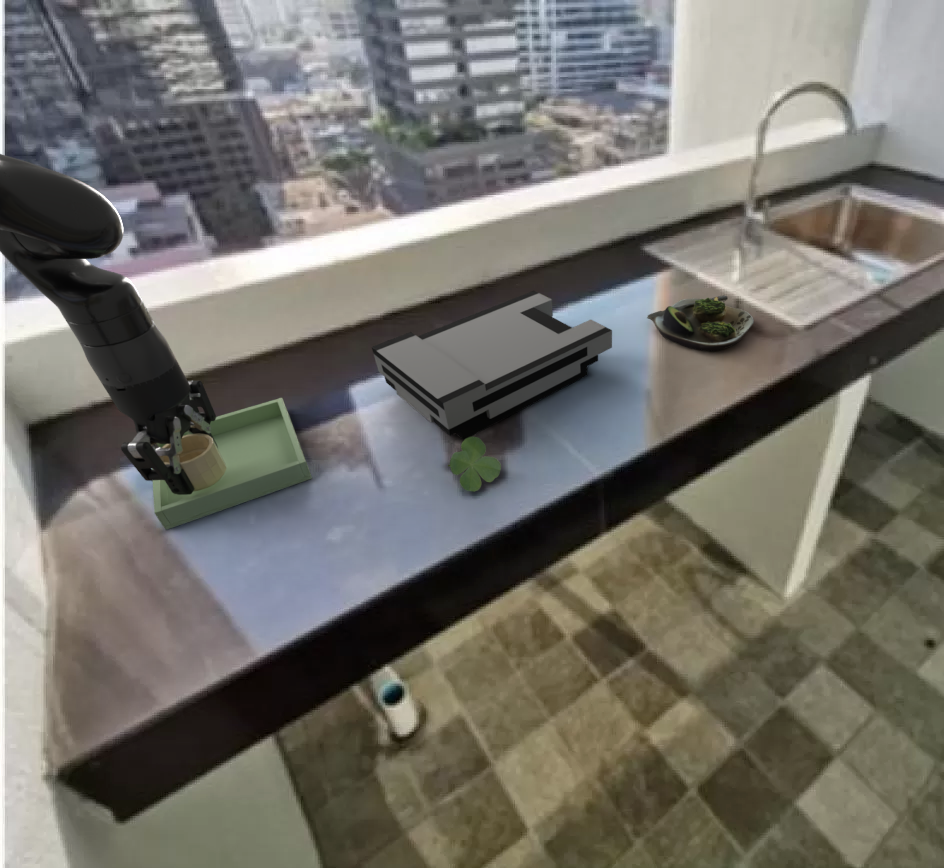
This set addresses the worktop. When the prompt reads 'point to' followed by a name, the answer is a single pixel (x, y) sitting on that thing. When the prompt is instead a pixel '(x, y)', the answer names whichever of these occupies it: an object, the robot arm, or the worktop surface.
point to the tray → (241, 464)
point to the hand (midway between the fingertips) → (199, 473)
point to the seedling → (474, 464)
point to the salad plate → (702, 323)
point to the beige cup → (200, 460)
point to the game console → (490, 363)
